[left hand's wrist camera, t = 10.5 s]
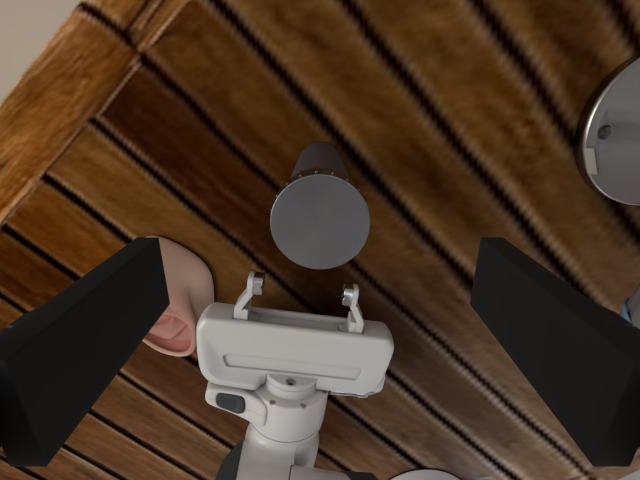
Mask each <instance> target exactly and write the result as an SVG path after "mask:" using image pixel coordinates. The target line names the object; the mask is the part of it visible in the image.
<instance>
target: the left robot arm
mask: <svg viewBox="0 0 640 480" xmlns="http://www.w3.org/2000/svg"><path fill="white" fill-rule="evenodd" d="M575 159H576V163H577V167H578V170H579V172H580V174H581V176H582V178H583V179H584V181H585V182H586V183H587V184H588V186H589V187H590V188H591V189H593V190H594V191H595V192H597V193H598V194H600V195H602V196H604V197H606V198H609V199H612V200H615V201H618V202H621V203H625V204H630V205H640V53H639V54H637V55H635V56H634V57H632V58H630V59H629V60H627V61H626V62H624V63H623V64H621V65H620V66H619V67H617V68H616V69H615V70H614V71H613V72H612V73H611V74H610V75H608V76H607V77H606V78H605V80H604V81H603V82H602V83H601V84H600V85H599V86H598V88H597V89H596V90H595V92H594V93H593V95H592V96H591V98H590V99H589V101H588V103H587V104H586V106H585V108H584V110H583V113H582V115H581V117H580V120H579V123H578V127H577V130H576V136H575ZM169 305H170V301H169V295H168V289H167V283H166V277H165V272H164V266H163V260H162V254H161V248H160V243H159V238H136V239H135V240H133V241H132V242H131V243H129V244H128V245H126V246H125V247H124V248H122V249H121V250H119V251H118V252H117V253H115V254H114V255H112V256H111V257H110V258H108V259H107V260H105V261H104V262H103V263H101V264H100V265H98V266H97V267H96V268H94V269H93V270H91V271H90V272H89V273H87V274H86V275H84V276H83V277H82V278H80V279H79V280H77V281H76V282H75V283H73V284H72V285H70V286H69V287H68V288H66V289H65V290H63V291H62V292H61V293H59V294H58V295H56V296H55V297H54V298H52V299H51V300H49V301H48V302H47V303H45V304H44V305H42V306H41V307H38V308H36V309H34V310H32V311H30V312H28V313H25V314H24V315H22V316H21V317H20V318H18V319H17V320H15V321H14V322H12V323H11V324H10V325H8V328H4V329H2V330H1V331H0V447H1V446H2V448H3V451H4V453H5V455H6V457H7V460H8V462H9V464H10V466H47V465H48V464H49V462H50V461H51V460H52V458H53V457H54V456H55V454H56V453H57V452H58V450H59V449H60V448H61V447H62V445H63V444H64V443H65V441H66V440H67V439H68V437H69V436H70V435H71V433H72V432H73V431H74V429H75V428H76V427H77V425H78V424H79V423H80V422H81V420H82V419H83V418H84V416H85V415H86V414H87V412H88V411H89V410H90V408H91V407H92V406H93V404H94V403H95V402H96V401H97V399H98V398H99V397H100V395H101V394H102V393H103V391H104V390H105V389H106V387H107V386H108V385H109V383H110V382H111V381H112V380H113V378H114V377H115V376H116V374H117V373H118V372H119V370H120V369H121V368H122V366H123V365H124V364H125V362H126V361H127V360H128V359H129V357H130V356H131V355H132V353H133V352H134V351H135V349H136V348H137V347H138V345H139V344H140V343H141V341H142V340H143V339H144V337H145V336H146V335H147V334H148V332H149V331H150V330H151V328H152V327H153V326H154V324H155V323H156V322H157V320H158V319H159V318H160V316H161V315H162V314H163V313H164V311H165V310H166V309H167V307H168V306H169ZM470 305H471V306H472V307H473V309H474V310H475V311H476V313H477V314H478V315H479V316H480V318H481V319H482V320H483V322H484V323H485V324H486V326H487V327H488V328H489V330H490V331H491V332H492V334H493V335H494V336H495V337H496V339H497V340H498V341H499V343H500V344H501V345H502V347H503V348H504V349H505V351H506V352H507V353H508V355H509V356H510V357H511V359H512V360H513V361H514V362H515V364H516V365H517V366H518V368H519V369H520V370H521V372H522V373H523V374H524V376H525V377H526V378H527V380H528V381H529V382H530V383H531V385H532V386H533V387H534V389H535V390H536V391H537V393H538V394H539V395H540V397H541V398H542V399H543V401H544V402H545V403H546V404H547V406H548V407H549V408H550V410H551V411H552V412H553V414H554V415H555V416H556V418H557V419H558V420H559V422H560V423H561V424H562V426H563V427H564V428H565V429H566V431H567V432H568V433H569V435H570V436H571V437H572V439H573V440H574V441H575V443H576V444H577V445H578V447H579V448H580V449H581V450H582V452H583V453H584V454H585V456H586V457H587V458H588V460H589V461H590V462H591V464H592V465H593V466H630V464H631V462H632V460H633V457H634V455H635V453H636V451H637V448H638V446H639V445H640V285H639V287H638V288H637V289H636V291H635V292H634V294H633V295H632V297H631V298H627V299H626V300H625V301H624V303H623V305H622V311H621V313H620V314H617V313H616V312H614V311H611V310H609V309H607V308H605V307H603V306H601V305H598V304H596V303H594V302H592V301H591V300H589V299H588V298H586V297H585V296H584V295H582V294H581V293H579V292H578V291H577V290H575V289H574V288H572V287H571V286H570V285H568V284H567V283H565V282H564V281H563V280H561V279H560V278H558V277H557V276H556V275H554V274H553V273H551V272H550V271H549V270H547V269H546V268H544V267H543V266H542V265H540V264H539V263H537V262H536V261H535V260H533V259H532V258H530V257H529V256H528V255H526V254H525V253H523V252H522V251H521V250H519V249H518V248H516V247H515V246H514V245H512V244H511V243H509V242H508V241H507V240H505V239H504V238H481V242H480V248H479V254H478V260H477V266H476V272H475V277H474V283H473V289H472V295H471V301H470Z"/></svg>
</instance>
